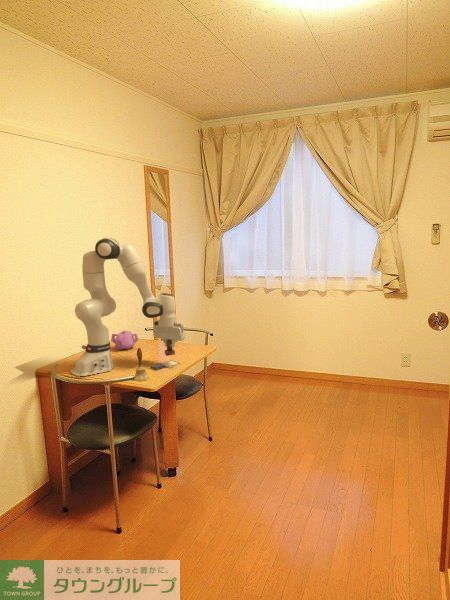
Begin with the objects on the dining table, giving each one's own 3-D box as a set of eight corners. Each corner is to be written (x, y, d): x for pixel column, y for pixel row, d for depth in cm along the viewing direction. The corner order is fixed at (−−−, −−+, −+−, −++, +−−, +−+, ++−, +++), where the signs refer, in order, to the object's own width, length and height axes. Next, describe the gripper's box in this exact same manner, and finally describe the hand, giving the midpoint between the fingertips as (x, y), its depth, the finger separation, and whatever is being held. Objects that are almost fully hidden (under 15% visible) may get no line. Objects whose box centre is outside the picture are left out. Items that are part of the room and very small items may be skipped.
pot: (116, 344, 272) (115, 327, 270) (142, 344, 271) (141, 327, 269) (107, 352, 254) (106, 334, 252) (135, 352, 253) (134, 334, 252)
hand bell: (143, 382, 202) (142, 351, 200) (129, 380, 205) (127, 349, 203) (152, 376, 210) (151, 346, 207) (138, 374, 213) (137, 345, 210)
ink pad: (156, 370, 219) (156, 368, 219) (150, 368, 223) (149, 366, 222) (165, 367, 223) (165, 365, 223) (159, 365, 227) (159, 363, 227)
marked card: (168, 367, 223) (168, 366, 223) (159, 364, 229) (159, 364, 228) (180, 363, 230) (180, 363, 230) (171, 361, 235) (171, 360, 235)
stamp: (166, 355, 225) (165, 339, 224) (164, 354, 229) (164, 337, 228) (175, 354, 227) (174, 338, 226) (173, 353, 231) (172, 336, 229)
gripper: (186, 322, 222) (187, 347, 224) (158, 319, 233) (159, 343, 235) (179, 325, 217) (180, 350, 219) (150, 321, 228) (152, 345, 230)
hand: (169, 346), depth 227 cm, fingers closed on stamp, 3 cm apart
